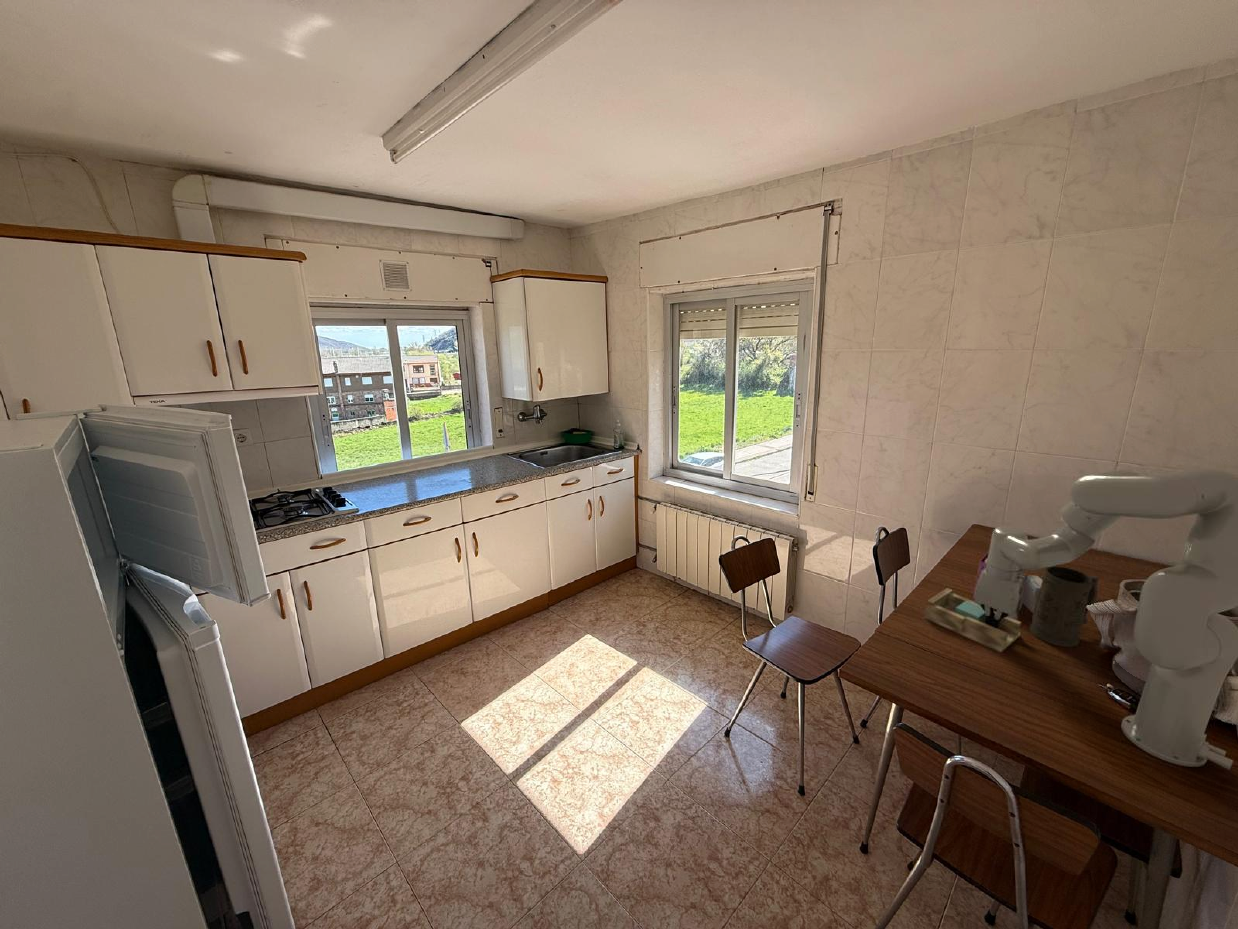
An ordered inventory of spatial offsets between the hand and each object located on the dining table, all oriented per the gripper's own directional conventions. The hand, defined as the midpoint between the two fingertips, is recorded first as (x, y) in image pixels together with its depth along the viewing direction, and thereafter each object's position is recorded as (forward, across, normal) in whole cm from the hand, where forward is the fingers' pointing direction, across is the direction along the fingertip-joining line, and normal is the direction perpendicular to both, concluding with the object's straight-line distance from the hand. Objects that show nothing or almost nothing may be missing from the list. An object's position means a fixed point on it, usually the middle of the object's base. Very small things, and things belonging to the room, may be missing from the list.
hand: (991, 627), depth 142 cm
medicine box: (+3, -1, -26) cm, 26 cm away
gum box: (+3, +10, -28) cm, 30 cm away
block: (+1, +5, 0) cm, 6 cm away
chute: (+2, +5, 0) cm, 6 cm away
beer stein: (+3, -11, -16) cm, 20 cm away
